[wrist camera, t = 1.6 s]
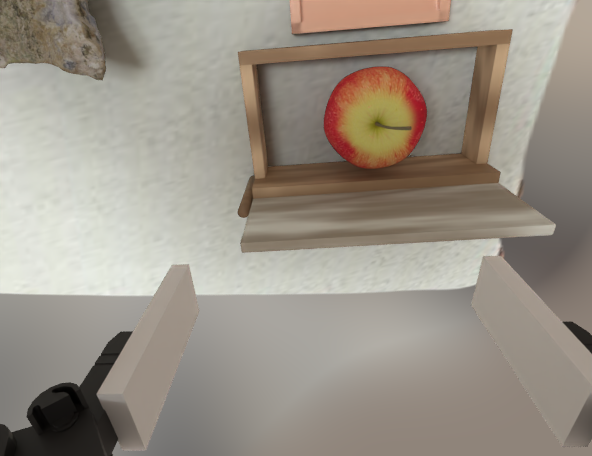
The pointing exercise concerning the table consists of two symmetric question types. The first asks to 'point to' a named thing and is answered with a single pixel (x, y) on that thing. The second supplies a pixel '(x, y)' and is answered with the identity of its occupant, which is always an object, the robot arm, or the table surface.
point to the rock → (51, 35)
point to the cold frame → (385, 169)
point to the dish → (363, 14)
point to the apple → (375, 117)
